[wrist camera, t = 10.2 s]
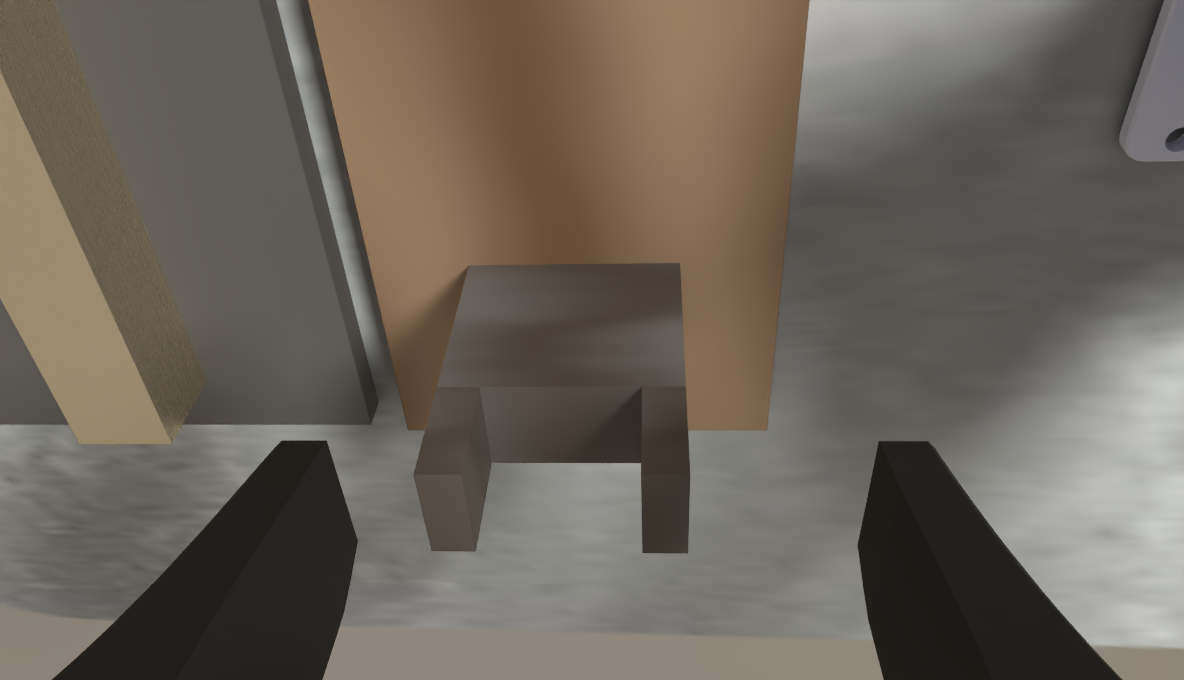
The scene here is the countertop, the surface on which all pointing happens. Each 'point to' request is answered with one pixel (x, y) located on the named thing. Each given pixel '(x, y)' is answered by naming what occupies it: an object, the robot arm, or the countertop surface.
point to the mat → (219, 211)
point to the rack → (570, 228)
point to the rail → (82, 249)
